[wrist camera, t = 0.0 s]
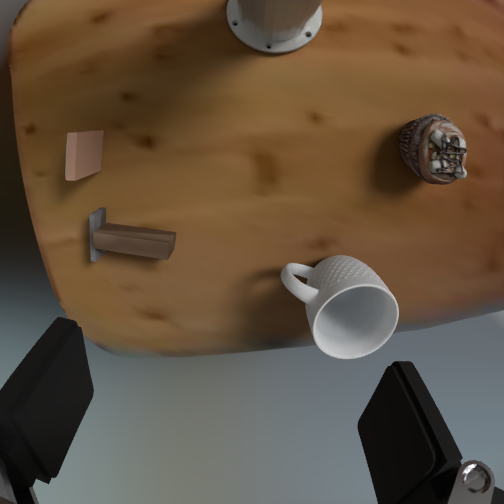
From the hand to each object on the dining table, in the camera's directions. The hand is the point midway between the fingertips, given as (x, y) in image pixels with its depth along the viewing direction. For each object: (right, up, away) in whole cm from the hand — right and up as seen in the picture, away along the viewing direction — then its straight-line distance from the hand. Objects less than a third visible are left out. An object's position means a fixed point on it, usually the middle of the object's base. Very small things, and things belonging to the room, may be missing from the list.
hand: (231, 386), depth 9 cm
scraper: (-16, +6, +37) cm, 41 cm away
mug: (+12, +1, +40) cm, 41 cm away
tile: (-21, +18, +32) cm, 43 cm away
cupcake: (+25, +19, +32) cm, 45 cm away
